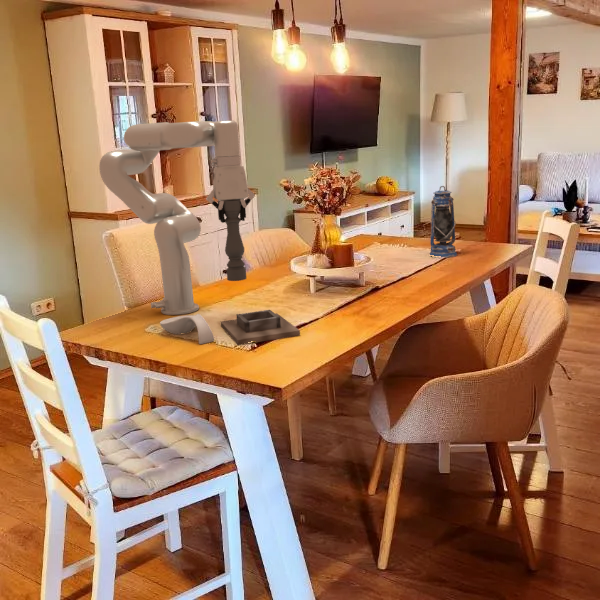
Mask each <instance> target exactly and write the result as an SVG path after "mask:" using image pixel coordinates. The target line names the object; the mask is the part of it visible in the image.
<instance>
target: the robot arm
mask: <svg viewBox="0 0 600 600" xmlns="http://www.w3.org/2000/svg"><path fill="white" fill-rule="evenodd" d="M239 135H240V134H239V125H238V122H237V121H236V120H218V121H212V120H210V121H207V120H205V121H203V120H201V121H199V120H198V121H185V122H184V121H183V122H168V121H165V122H153V123H152V122H151V123H138V124H136V123H135V124H133V125H130V126H129V127H127V128H126V129H125V132H124V135H123V140H124V142H125V145H126V146H127V147H128V148H129V149H116V150H110V151H109V152H106V153H104V155H102V156H101V158H100V160H99V165H98V166H99V174H100V178H101V180H102V182H103V183H104V185H105V187H106V188H107V189H109V191H110V192H112V193H113V194H114V195H115V196H116V197H118V199H120V200H121V202H123V204H125V206H126V207H127V208H129V209H130V211H132V212H133V214H135V216H137V218H139V219H140V220H141V222H143V223H145V224H147V225H152V224H155V226H154V230H153V235H154V240H155V243H156V246H157V249H158V256H159V263H160V268H161V269H160V270H161V277H162V278H161V280H162V287H163V296H164V297H162V299H160V301H151V302H150V308H151V309H155V308H156V309H160V313H161V314H163V315H168V316H182V315H188V314H191V313H194V312H196V311H198V310H199V309H200V305H199V304H198V303H195V302H194V294H193V293H194V292H193V281H192V272H191V262H190V261H191V260H190V256H189V253H188V250H187V249H186V246H185V243H189V242H193V241H195V240H196V239H198V237H199V236H200V234H201V231H202V229H201V228H202V227H201V222H200V221H199V219H198V218H197V217H196V216H195V214H194V213H193V212H192V211H191V210H190V209H189V208H187V206H185V205H184V204H183V203H182V202H181V201H180V200H179V199H178V198H177V197H176V196H174V195H173V194H170V193H168V192H160V193H153V192H150V191H149V190H148V189H147V188H146V187H145V186H144V185H143V183H140V182H139V181H138V180H136V179H135V178H133V177H131V176H132V175H140V174H142V173H144V172H145V171H146V170H147V169H148V168H149V167H150V165H151V164H152V162H153V161H154V160H155V159H156V157H157V156H158V154H159V153H160V151H169V150H173V149H182V148H183V149H185V148H186V149H187V148H202V147H214V158H213V159H210V162H211V163H210V164H211V165H215V167H214V168H213V178H212V179H213V182H212V190H211V192H210V193H209V194H208V195H207V196H206V201H207V202H209V203H210V204H211V205H212V206H214V207H215V208H216V209H217V216H218V220H219V222H221V223H222V224H223V223H224V224H225V219H226V216H225V214H224V210H223V203H224V201H225V200H237V199H239V200H240V205H241V210H240V213H239V218H240V219H241V221H242V222H245V219H246V218H247V213H246V212H247V211H246V210H247V209H246V208H247V206H248V205H249V204H250V203H251V201H252V200H253V199H254V198H255V196H256V195H255V193H254V192H253V191H252V190H251V189H250V188H249V187H248V182H247V181H248V180H247V176H246V170H245V167H244V165H242V164H241V163H242V162H241V161H242V160H241V151H240V136H239ZM213 198H214V199H213ZM215 200H217V201H215Z"/></svg>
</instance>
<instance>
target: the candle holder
mask: <svg viewBox="0 0 600 600" xmlns="http://www.w3.org/2000/svg"><path fill="white" fill-rule="evenodd" d="M222 208H223V210H224V217H225V222H224V224H225V225H226V230H227V231H226V232H227V235H226V240H225V241H226V243H225V249H224V251H225V255H226V256H227V257H228V262H227V263H226V267H227V268H226V278H227V279H226V281H229V282H239V281H240V282H241V281H244V280H247V268H246V266H245V265H246V263H245V262H244V260H243V255H244V253H245V247H244V243H243V240H242V236H241V233H240V223H241V221H242V220H241V219H240V210H241V205H240V200H239V199H237V200H225V201H224V203H223V207H222Z"/></svg>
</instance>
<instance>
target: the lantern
mask: <svg viewBox="0 0 600 600" xmlns="http://www.w3.org/2000/svg"><path fill="white" fill-rule="evenodd" d="M442 188H443V190H441V189H442ZM451 193H452V191H450V190H447V189H446V186H445V185H440V186H439V190H435V192H433V194H434V196H433V198H432V200H431V208H430V209H431V212H430V213H431V214H430V215H431V217H430V223H429V224H430V252H429V254H430V255H434V256H441V257H445V258H444V259H448V258H454V257H457V256H458V253H457V251H456V246H455V245H454V244H455V242H456V228H455V226H456V221H455V212H454V210H455V209H454V198H453V196H451ZM435 242H437V243H435Z"/></svg>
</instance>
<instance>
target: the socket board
mask: <svg viewBox="0 0 600 600" xmlns="http://www.w3.org/2000/svg"><path fill="white" fill-rule="evenodd" d="M235 316H236V318H235V319H229V320H222V321H220V327H221V328H222V329H223V330H224V331H225V332H226V334H227V335H230V336H231V337H232V338H231V337H230V336H229V337H230V338H231V339H232V340H233V342H235V343H236V344H237V345H238V346H241V344H242V345H245V344H244V343H248V342H251V341H256V342H255V343H261V342H267V341H273V340H279V339H280V340H281V339H285V338H286V339H287V338H292V337H299V336H301V330H300V329H298V328H297V327H296V326H295V325H293V324H292V323H291V322H289V320H287V319H286V318H284V317H283V316H281V315H280V314H279V313H275V312H273V311H272V309H265V310H258V311H251V312H243V313H237V314H236V315H235Z"/></svg>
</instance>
